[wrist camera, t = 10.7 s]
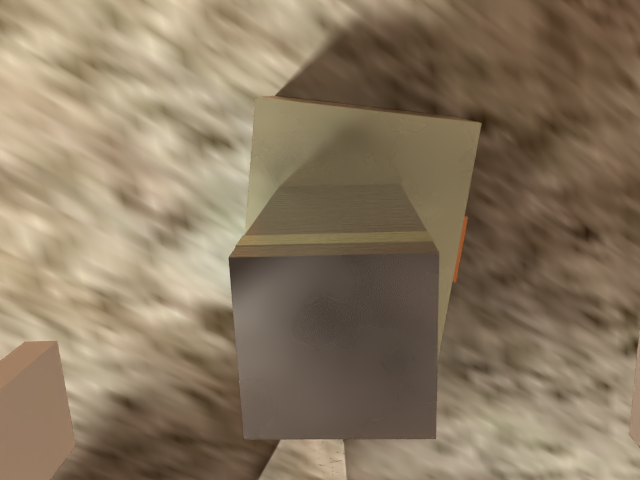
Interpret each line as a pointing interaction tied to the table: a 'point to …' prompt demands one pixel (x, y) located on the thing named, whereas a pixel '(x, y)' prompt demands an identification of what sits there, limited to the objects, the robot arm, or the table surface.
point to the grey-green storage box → (370, 163)
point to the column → (337, 316)
